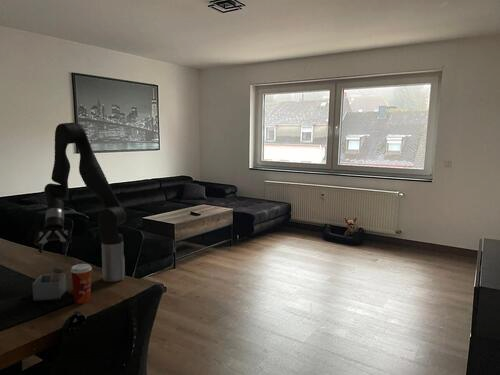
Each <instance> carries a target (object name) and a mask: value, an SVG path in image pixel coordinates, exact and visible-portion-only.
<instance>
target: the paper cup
mask: <svg viewBox="0 0 500 375" xmlns="http://www.w3.org/2000/svg"><path fill="white" fill-rule="evenodd" d="M92 270H93V267H92V266H91V265H90V264H89V263H78V264H75V265H72V266H71V269H70V273H71V280H72V288H73V298H74V303H75V304H85V303H88V302H90V300H91V293H92V292H91V290H92V289H91V285H92V284H91V283H92Z"/></svg>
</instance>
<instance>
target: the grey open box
mask: <svg viewBox="0 0 500 375" xmlns="http://www.w3.org/2000/svg"><path fill="white" fill-rule="evenodd" d="M51 276H52V273H51V274H40V276H38V278H36V280H34V282H32V284H31V285H32V301H34V302H36V301H38V302H39V301H51V300H52V301H53V300H54V299H55V300H60V299H61V298H62V296H63V295H64V293H65V292H66V291H67V278H66V273H62V275H61V278H60V279H59V280H58V281H57V282H50V279H51ZM55 300H54V301H55Z"/></svg>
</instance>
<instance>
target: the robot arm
mask: <svg viewBox="0 0 500 375" xmlns="http://www.w3.org/2000/svg"><path fill="white" fill-rule="evenodd" d="M71 144H75V146H76V147H77V150H78V152H79V165H78V171H79V172H78V173H79V175H80V178H81V179H82V182H83V183H84V185H85V187H86V188H87V189H88V190H89V191H90V192H92V193H93V194H94V195H95V196H96V197H97V198H98V199H99V200H100V201H101V203H102V205H103V207H104V208H103V209H101V210H100V211H99V213H98V215H97V216H98V217H97V223H98V234H99V235H98V236H99V238H100V241H101V263H102V264H101V265H102V266H101V267H102V268H101V269H102V272H101V273H102V281H103V282H108V283H114V282H118V281H124V278H125V276H126V270H125V269H126V268H125V266H126V265H125V261H126V260H125V255H124V236H123V234H121V233H119V230H118V226H121V225H123V224H124V223H125V222H126V220H127V219H126V218H127V214H126V211H125V210H124V208H123V206H122V204H121V203H120V201H119V200H118V198H117V196H116V194H115V193H114V192H113V189H112V187H111V186H110V183H109V182H108V180H107V177H106V174H105V173H104V171H103V168H102V167H101V164H100V163H99V161H98V160H97V157H96V155H95V153H94V151H93V148H92V146H91V143H90V140H89V138H88V134H87V131H86V130H85V128H84V126H83V125H82V124H80V123H79V122H75V121H74V122H64V123H59V124H57V125H56V128H55V131H54V161H53V168H52V173H51V181H53V182H54V183H47V184H46V185H45V186H44V189H43V193H44V196H45V200H46V213H45V220H44V230H43V231H39V230H36V231H35V233H34V234H35V236H34V240H33V242H34V245H35V246H38V253H40V254H42V255H43V250H44V245H45V244H46V243H48V241H49V242H52V241H58V240H59V241H60V242H61V243H62V249H61V250H62V253H65V251H67V246H68V244H72V230H71V228H68V229H65V228H64V225H65V212H64V211H65V202H64V201H63V200H66V199H67V198H68V197H69V195H70V190H69V176H70V171H71V164H70V163H71V162H70V161H69V160H70V159H69V158H68V156H67V148H68V145H71ZM64 229H65V230H64ZM64 235H66V236H67V239H66V238H65V237H64ZM42 236H43V237H42ZM41 237H42V238H41ZM40 238H41V240H40Z"/></svg>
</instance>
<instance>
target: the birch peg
mask: <svg viewBox="0 0 500 375" xmlns="http://www.w3.org/2000/svg"><path fill="white" fill-rule="evenodd" d="M51 274H52V276H51V279H50V282H57V281H58V280H59V279H60V278H61V275H62V274H64V268H62V267H59V266H54V267H53V270H52V272H51Z"/></svg>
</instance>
